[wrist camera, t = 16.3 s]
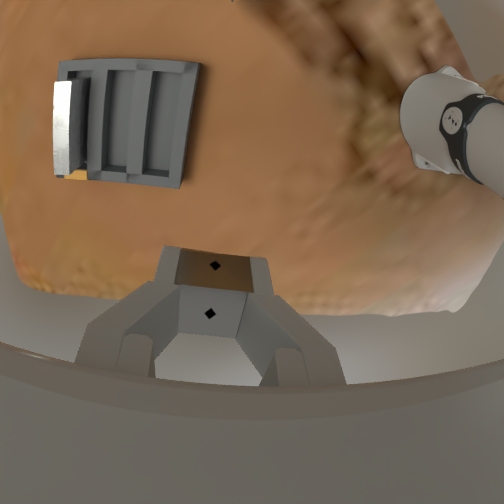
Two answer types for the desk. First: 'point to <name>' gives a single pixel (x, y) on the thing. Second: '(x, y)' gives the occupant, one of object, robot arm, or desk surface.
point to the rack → (136, 119)
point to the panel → (70, 124)
